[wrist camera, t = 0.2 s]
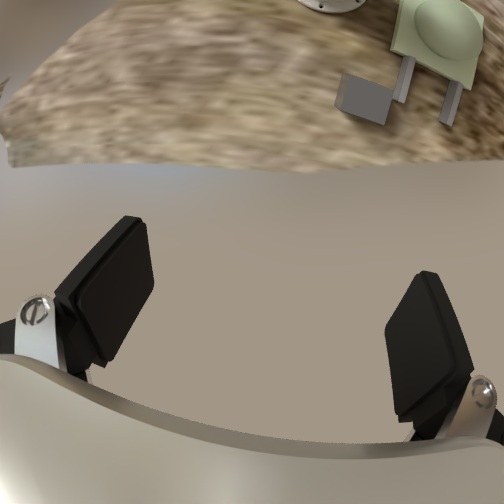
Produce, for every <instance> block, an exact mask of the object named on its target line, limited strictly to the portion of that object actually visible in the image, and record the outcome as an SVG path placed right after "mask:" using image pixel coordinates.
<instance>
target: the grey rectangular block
mask: <svg viewBox="0 0 504 504" xmlns="http://www.w3.org/2000/svg"><path fill="white" fill-rule="evenodd" d="M393 94H394V90H391V89H389V88H386V87H384V86H381V85H379V84H376V83H373V82H371V81H368V80H365V79H362V78H359V77H356V76H353V75H350V74H345V75H342V77H341V81H340V85H339V89H338V93H337V96H336V100H335V104H334V105H335V106H336V107H337V108H338V109H339V110H341V111H344V112H347V113H350V114H353V115H356V116H359V117H362V118H365V119H368V120H371V121H373V122H376V123H379V124H381V125H384V124H385V121H386V118H387V115H388V111H389V108H390V104H391V101H392V97H393Z"/></svg>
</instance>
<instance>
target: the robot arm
mask: <svg viewBox="0 0 504 504" xmlns="http://www.w3.org/2000/svg"><path fill="white" fill-rule="evenodd" d="M297 1H298V2H300V3H301V4H303V5H305V6H306V7H309V8H311V9H313V10H317V11H320V12H325V13H344V12H349V11H352V10H355V9H356V8H358V7H360V6H361V5H362V4H363V3H364V2H365V1H366V0H297ZM356 1H358V2H359V3H357V2H356ZM320 6H322V7H323V8H320ZM153 287H154V277H153V271H152V264H151V257H150V251H149V244H148V235H147V227H146V224H145V223H143V221H142V219H141V218H139V217H133V216H124V217H123V218H122V219H121V220H120V221H119V222H118V223H117V224H116V225H115V226H114V227H113V228H112V229H111V230H110V231H109V232H108V233H107V234H106V235H105V236H104V237H103V238H102V239H101V240H100V241H99V242H98V243H97V244H96V245H95V246H94V247H93V248H92V249H91V250H90V251H89V253H88V254H87V255H86V256H85V257H84V258H83V259H82V260H81V261H80V262H79V264H78V265H77V266H76V267H75V268H74V269H73V270H72V271H71V272H70V274H69V275H68V276H67V277H66V278H65V279H64V281H63V282H62V283H61V284H60V285H59V287H58V288H57V289H56V290H55V291H54V293H55V295H56V297H55V298H54V299H53V300H52V298H51V297H50V296H48V295H46V294H36V295H33V296H31V297H29V298H28V299H26V300H25V301H24V302H23V303H22V304H21V305H20V307H19V309H18V311H17V315H16V319H13V320H10V321H7V322H4V323H1V324H0V504H504V416H503V415H502V414H501V413H500V412H499V411H498V410H497V409H496V405H497V393H496V390H495V387H494V385H493V383H492V382H491V381H490V380H489V379H488V378H487V377H485V376H483V375H475V376H473V377H472V378H471V376H470V373H471V372H472V371H473V370H474V366H473V363H472V360H471V356H470V353H469V350H468V347H467V344H466V341H465V339H464V336H463V333H462V330H461V327H460V325H459V322H458V320H457V317H456V314H455V312H454V310H453V307H452V305H451V302H450V300H449V298H448V295H447V293H446V291H445V289H444V286H443V284H442V282H441V280H440V278H439V276H438V274H437V273H433V272H428V271H421V272H420V273H419V274H416V276H415V277H414V279H413V281H412V282H411V284H410V286H409V288H408V289H407V292H406V293H405V295H404V296H403V298H402V300H401V302H400V303H399V305H398V307H397V308H396V310H395V312H394V313H393V315H392V316H391V318H390V320H389V321H388V323H387V324H386V327H385V339H386V345H387V352H388V358H389V365H390V372H391V381H392V389H393V399H394V410H395V413H396V415H398V420H399V423H403V422H412V421H413V428H412V430H411V431H410V433H409V434H408V436H407V437H406V439H405V440H404V441H403V442H397V443H375V444H345V443H323V442H309V441H298V440H288V439H281V438H273V437H266V436H260V435H254V434H248V433H242V432H238V431H233V430H228V429H223V428H219V427H214V426H210V425H206V424H203V423H199V422H195V421H191V420H188V419H184V418H181V417H177V416H174V415H171V414H167V413H164V412H161V411H158V410H155V409H152V408H149V407H146V406H144V405H141V404H138V403H135V402H133V401H130V400H127V399H125V398H122V397H120V396H117V395H115V394H113V393H110V392H108V391H106V390H103V389H101V388H98V387H96V386H94V385H93V384H92V380H91V376H90V371H89V367H90V365H91V364H92V363H94V364H96V365H99V366H101V367H103V368H105V367H106V365H107V363H108V361H109V362H110V361H112V360H113V359H114V357H115V355H116V354H117V352H118V350H119V348H120V346H121V344H122V343H123V340H124V339H125V337H126V335H127V333H128V332H129V330H130V328H131V326H132V325H133V323H134V321H135V319H136V318H137V316H138V314H139V312H140V311H141V309H142V307H143V305H144V304H145V302H146V300H147V299H148V297H149V295H150V294H151V292H152V290H153Z"/></svg>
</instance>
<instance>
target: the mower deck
mask: <svg viewBox="0 0 504 504" xmlns="http://www.w3.org/2000/svg"><path fill="white" fill-rule="evenodd" d="M483 22H484V17H483V16H482V15H481V14H479V13H478V12H476V11H475V10H473V9H472V8H470V7H469V6H467V5H466V4H464V3H463V2H461V1H460V0H400V3H399V9H398V14H397V19H396V24H395V29H394V34H393V39H392V43H391V47H390V51H392V52H394V53H397V54H399V55H401V56H403V59H402V63H401V67H400V71H399V75H398V79H397V83H396V87H395V90H394V94H393V98H392V99H393V100H396V101H398V102H401V103H405V100H406V96H407V92H408V89H409V85H410V81H411V77H412V73H413V69H414V65H415V62H416V63H419V64H421V65H423V66H425V67H427V68H429V69H430V70H432V71H434V72H436V73H438V74H440V75H442V76H443V77H445V78H447V79H449V80H450V81H449V85H448V89H447V93H446V96H445V100H444V104H443V107H442V110H441V114H440V117H439V121H440V122H442V123H444V124H447V125H449V126H451V127H452V124H453V120H454V117H455V114H456V111H457V107H458V104H459V100H460V97H461V93H462V89H463V88H464V89H467V90H471V88H472V84H473V80H474V75H475V71H476V66H477V61H478V56H479V54H480V52H481V50H482V47H483V33H482V30H483Z"/></svg>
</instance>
